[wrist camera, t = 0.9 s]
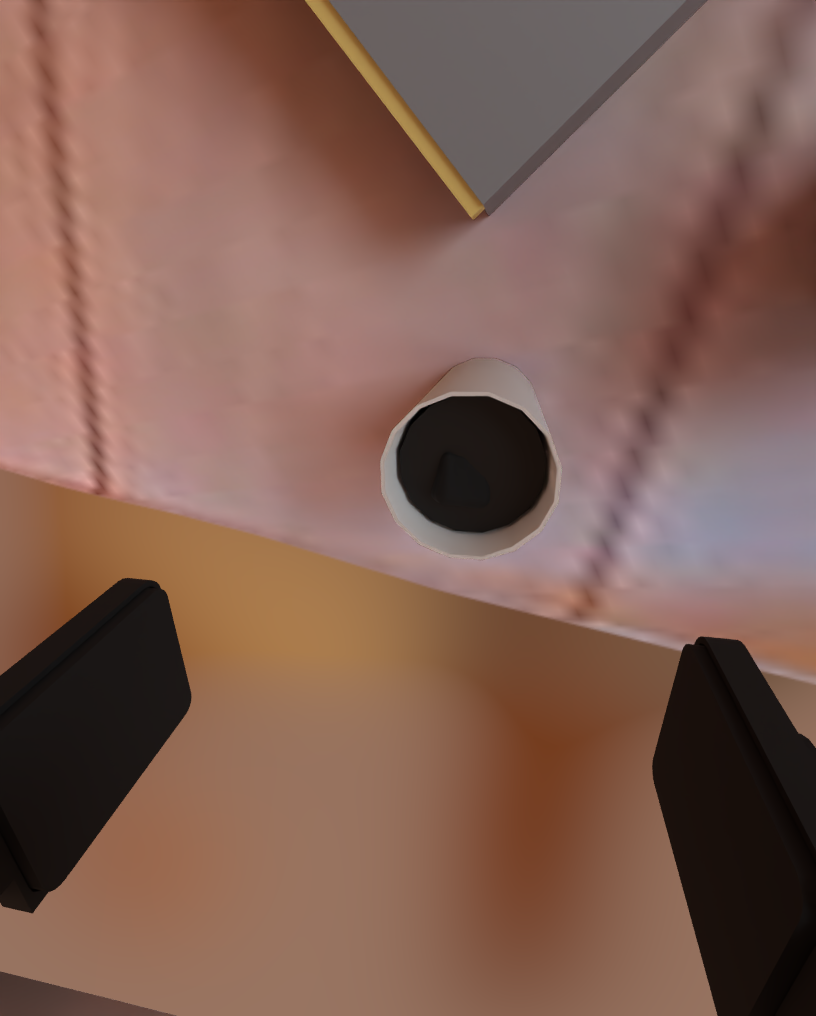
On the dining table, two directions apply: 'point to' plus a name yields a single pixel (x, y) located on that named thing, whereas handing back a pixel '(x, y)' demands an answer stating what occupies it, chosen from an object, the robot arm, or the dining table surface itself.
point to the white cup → (473, 464)
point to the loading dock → (496, 75)
